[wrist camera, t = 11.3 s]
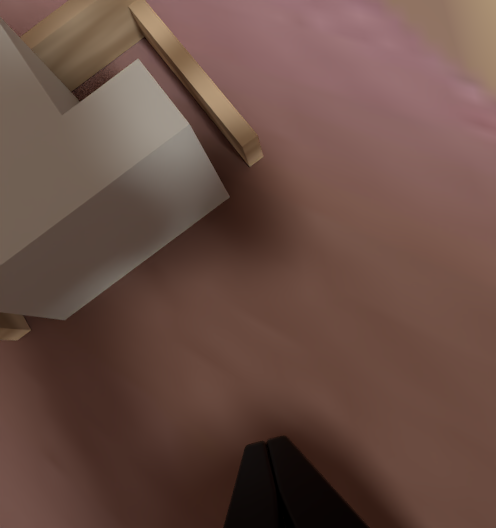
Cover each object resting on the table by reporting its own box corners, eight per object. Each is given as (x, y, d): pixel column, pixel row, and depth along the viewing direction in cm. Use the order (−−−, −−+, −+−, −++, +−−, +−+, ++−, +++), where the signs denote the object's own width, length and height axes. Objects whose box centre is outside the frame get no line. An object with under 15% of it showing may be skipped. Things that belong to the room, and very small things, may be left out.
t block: (230, 197, 24) (189, 124, 16) (64, 320, 24) (-54, 305, 16) (126, 62, 27) (51, -52, 20) (-20, 172, 27) (-153, 101, 20)
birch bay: (263, 156, 24) (253, 119, 20) (17, 340, 24) (-39, 338, 21) (147, 16, 28) (120, -39, 24) (-68, 177, 28) (-130, 149, 24)
